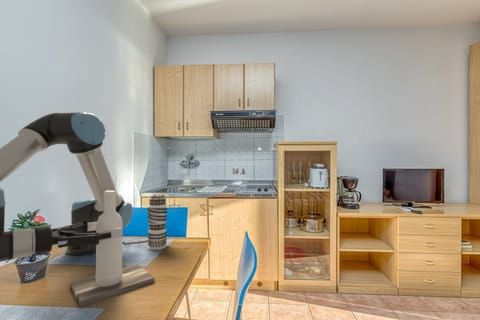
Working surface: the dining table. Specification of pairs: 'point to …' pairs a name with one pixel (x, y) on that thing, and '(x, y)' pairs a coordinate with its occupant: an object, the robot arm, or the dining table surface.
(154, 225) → the decorative candle
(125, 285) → the subfloor panel
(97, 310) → the dining table surface
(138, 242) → the wooden handled claw tool
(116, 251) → the bottle
